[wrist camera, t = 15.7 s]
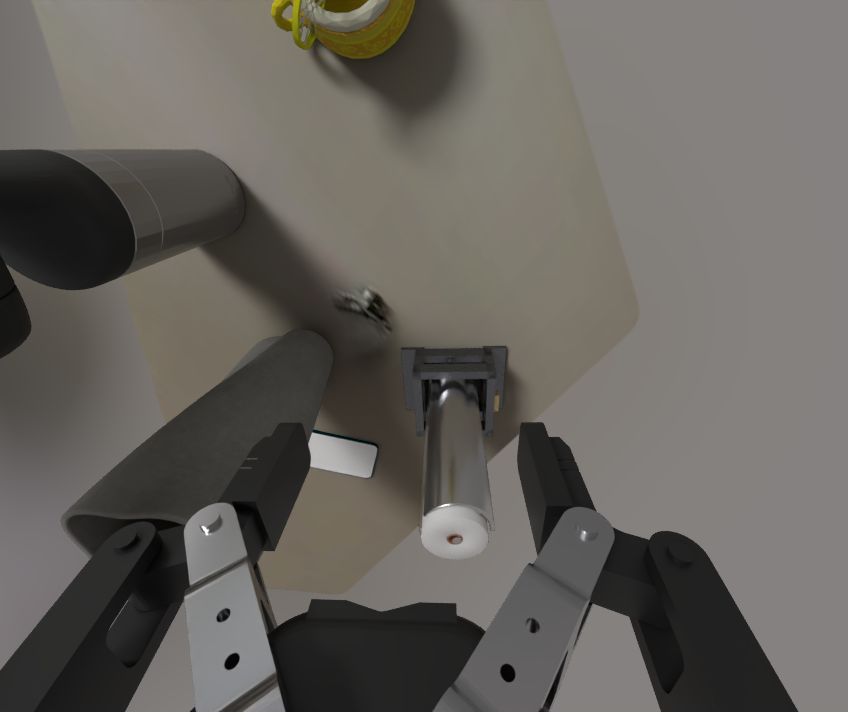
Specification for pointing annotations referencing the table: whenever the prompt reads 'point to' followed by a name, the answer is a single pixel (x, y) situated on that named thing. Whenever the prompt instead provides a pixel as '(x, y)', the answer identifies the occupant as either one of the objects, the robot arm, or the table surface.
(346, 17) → the mug
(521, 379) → the table surface
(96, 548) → the vase
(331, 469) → the smartphone
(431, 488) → the silver metal cylinder
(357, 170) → the table surface
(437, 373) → the collar bracket
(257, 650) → the robot arm
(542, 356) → the table surface
